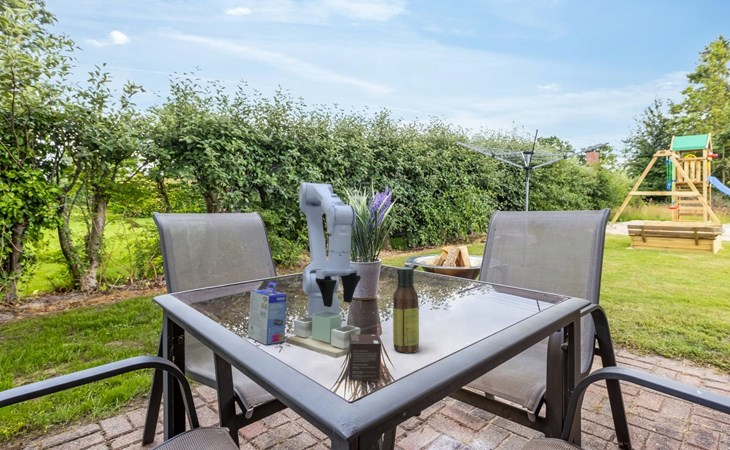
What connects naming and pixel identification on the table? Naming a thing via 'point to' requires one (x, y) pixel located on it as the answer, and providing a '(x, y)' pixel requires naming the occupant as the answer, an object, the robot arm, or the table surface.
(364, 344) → the box
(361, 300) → the table surface
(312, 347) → the board
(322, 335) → the block
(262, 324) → the ink cartridge box
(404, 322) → the sauce bottle
